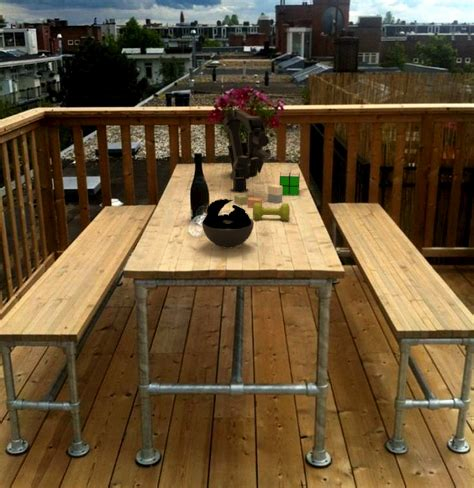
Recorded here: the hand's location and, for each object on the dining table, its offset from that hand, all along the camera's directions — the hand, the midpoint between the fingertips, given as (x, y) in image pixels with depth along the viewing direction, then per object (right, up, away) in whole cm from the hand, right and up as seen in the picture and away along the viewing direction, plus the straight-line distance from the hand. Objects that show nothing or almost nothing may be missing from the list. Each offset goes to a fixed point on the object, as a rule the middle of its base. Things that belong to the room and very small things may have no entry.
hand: (253, 174), depth 313 cm
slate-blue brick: (+11, -14, -3) cm, 18 cm away
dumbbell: (+7, -24, -30) cm, 39 cm away
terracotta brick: (0, -17, -12) cm, 21 cm away
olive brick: (-6, -15, -6) cm, 17 cm away
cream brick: (+11, -10, -4) cm, 15 cm away
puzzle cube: (+19, -8, +13) cm, 24 cm away
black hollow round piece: (-12, -36, -65) cm, 75 cm away
